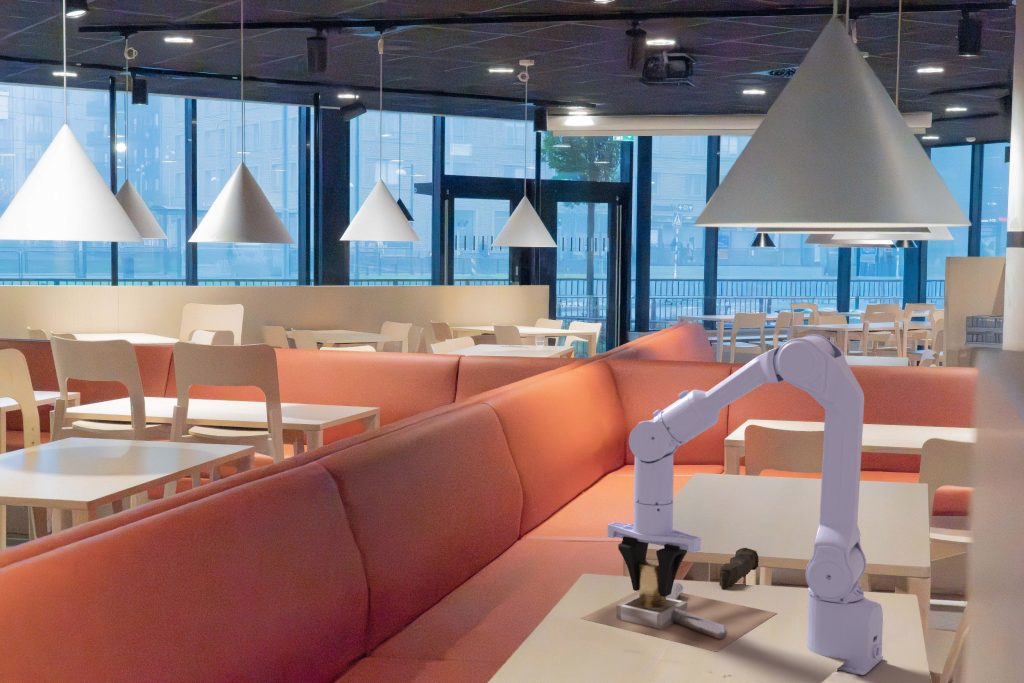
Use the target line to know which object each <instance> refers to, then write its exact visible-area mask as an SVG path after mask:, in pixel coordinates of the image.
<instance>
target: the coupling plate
mask: <svg viewBox="0 0 1024 683" xmlns="http://www.w3.org/2000/svg"><path fill="white" fill-rule="evenodd" d="M674 609H679V610H682V611H685V612H688V613H691V614H693V615H696V616H699V617H702V618H705V619H708V620H711V621H713V622H716V623H719V624H722V625H725V626H726V627H727V635H726V637H725V638H724V639H722V640H720V639H718V638H715V637H712V636H709V635H707V634H704V633H701V632H699V631H696V630H693V629H690V628H688V627H685V626H682V625H679V624H677V623H674V622H672V619H671V616H672V612H673V610H674ZM777 614H778V612H776V611H775V612H774V611H769V610H764V609H759V608H757V607H756V608H755V607H750V606H746V605H741V604H736V603H731V602H727V601H721V600H719V599H718V600H717V599H713V598H708V597H703V596H698V595H694V594H688V593H684V592H682V594H681V595H680V596H679V597H678V599H677V600H675V599H670V598H666V605H665V606H663V607H659V608H649V607H644V606H641V605H640V604H639V590H638V591H635V592H633V593H631V594H628V595H626V596H624V597H622V598H620V599H618V600H616V601H614V602H612V603H610V604H608V605H605V606H603V607H601V608H599V609H597V610H595V611H592V612H590V613H589V614H587V615H584V616H582V617H580V619H581V620H584V621H588V622H593V623H596V624H602V625H604V626H609V627H613V628H616V629H617V628H618V629H621V630H626V631H629V632H634V633H637V634H638V633H639V634H643V635H646V636H650V637H655V638H659V639H662V640H666V641H670V642H675V643H679V644H683V645H688V646H691V647H695V648H700V649H704V650H707V651H712V652H716V653H718V652H719V651H721V650H722V649H724V648H726V647H727V646H728V645H731V644H732V643H734V642H735V641H736V640H738V639H740V638H741V637H743V636H744V635H746V634H747V633H749V632H751V631H752V630H754V629H756V628H757V627H758V626H760V625H762V624H763V623H764V622H766V621H768V620H769V619H771V618H773V617H775V616H776V615H777Z"/></svg>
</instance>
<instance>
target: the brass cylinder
mask: <svg viewBox="0 0 1024 683" xmlns="http://www.w3.org/2000/svg"><path fill="white" fill-rule="evenodd" d="M638 591H639V604H640V605H641V606H644V607H649V608H659V607H663V606H665V605H666V597H662V596H660V570H659V563H658V559H646V560H643V561H641V562H639V590H638Z"/></svg>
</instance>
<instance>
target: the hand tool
mask: <svg viewBox="0 0 1024 683" xmlns="http://www.w3.org/2000/svg"><path fill="white" fill-rule="evenodd" d="M758 567H759V555H758V552H757V551H756V550H755V549H751V548H748V547H742V548H738V549H737V550H736V551H735V554H734V556H732V557H731V558H730V559H729V563H727V562H726V563H724V564H723V565H722V566H720V570H719V586H720V589H721V590H727V589H729V588H732V587H733V585H735V584H736V583H738V581H739V580H740V579H741V578H746V576H748V574H749V573H751V571H756V570H757V568H758Z"/></svg>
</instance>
